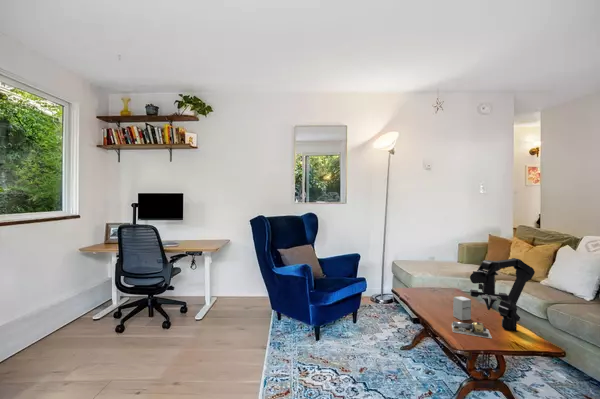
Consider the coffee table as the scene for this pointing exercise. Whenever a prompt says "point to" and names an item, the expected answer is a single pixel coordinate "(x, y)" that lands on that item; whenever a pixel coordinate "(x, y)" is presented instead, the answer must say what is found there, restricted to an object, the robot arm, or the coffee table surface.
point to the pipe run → (469, 330)
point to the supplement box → (462, 308)
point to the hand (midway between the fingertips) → (488, 309)
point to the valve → (478, 326)
